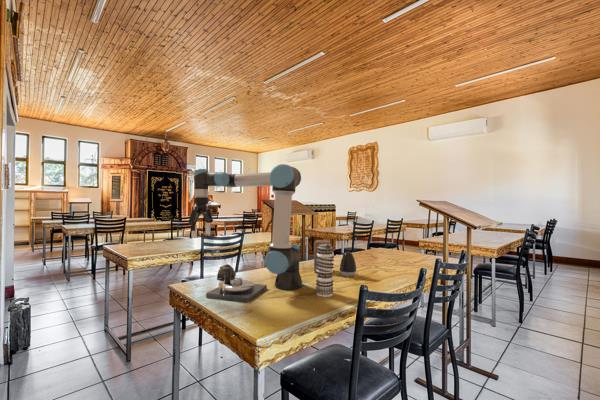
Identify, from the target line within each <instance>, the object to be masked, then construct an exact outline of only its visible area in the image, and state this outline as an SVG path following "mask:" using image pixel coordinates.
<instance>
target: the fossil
mask: <svg viewBox="0 0 600 400" xmlns="http://www.w3.org/2000/svg"><path fill="white" fill-rule="evenodd" d="M227 267H229V268H231V281H233V280H234V278H235V277H236V275H237V272H236V271H235V269H234V268H233V266H231V265H230V264H228V263H227V264H223V265H221V266H220V267H219V269H218V271H217V273H216V274H217V275H216V279H217V280H221V279H224V268H227Z"/></svg>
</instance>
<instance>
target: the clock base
mask: <svg viewBox="0 0 600 400" xmlns="http://www.w3.org/2000/svg"><path fill="white" fill-rule="evenodd" d="M223 282H224V281H218V287H216V288H214V289H211V290H210V291H208V292H206V293H205V298H207V299H208V298H209V299H218V300H225V301H233V302H234V301H235V302H241V303H249V302H250V301H251V300H253V299H254V298H256V297H257V296H259V295H260V294H261V293H263V292H264V291H266V290H267V289H268V285H267V284H260V283H254V288H253V289H251V290H248V291H243V292H228V291H224V290H223Z"/></svg>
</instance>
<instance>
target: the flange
mask: <svg viewBox="0 0 600 400" xmlns="http://www.w3.org/2000/svg"><path fill="white" fill-rule="evenodd" d="M222 282H223V290H224V291H228V292H243V291H248V290H251V289H253V288H254V284H255V283H254V282H253V281H250V280H244V279H243V278H242V277H236V278H234V279H232V280H231V268H229V267H227V268H224V278H223V281H222Z"/></svg>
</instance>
